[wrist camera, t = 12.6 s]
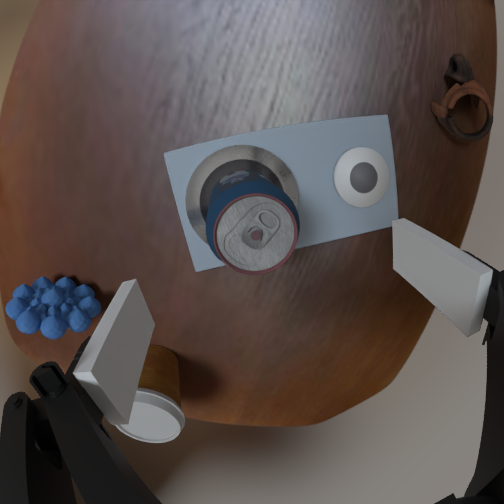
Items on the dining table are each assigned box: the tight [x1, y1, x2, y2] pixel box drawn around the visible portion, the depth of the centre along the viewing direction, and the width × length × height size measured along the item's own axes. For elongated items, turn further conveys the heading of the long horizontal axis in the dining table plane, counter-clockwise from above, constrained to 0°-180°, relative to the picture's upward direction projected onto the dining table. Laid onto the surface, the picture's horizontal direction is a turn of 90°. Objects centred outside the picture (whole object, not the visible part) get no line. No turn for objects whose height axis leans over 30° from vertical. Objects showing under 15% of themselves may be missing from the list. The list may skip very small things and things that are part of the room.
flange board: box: [164, 115, 398, 272], centre depth 33 cm, size 26×14×2 cm, turn 102°
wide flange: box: [185, 145, 298, 245], centre depth 32 cm, size 12×12×1 cm
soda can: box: [206, 170, 300, 275], centre depth 26 cm, size 7×7×12 cm
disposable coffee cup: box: [115, 345, 185, 443], centre depth 35 cm, size 10×10×12 cm
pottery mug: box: [431, 53, 493, 141], centre depth 28 cm, size 12×10×8 cm
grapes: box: [6, 276, 102, 339], centre depth 30 cm, size 12×7×12 cm, turn 72°
